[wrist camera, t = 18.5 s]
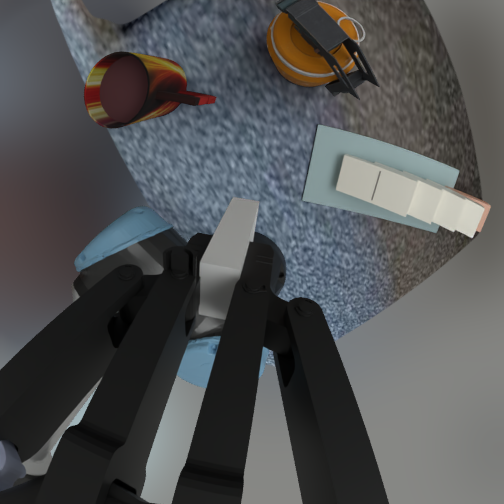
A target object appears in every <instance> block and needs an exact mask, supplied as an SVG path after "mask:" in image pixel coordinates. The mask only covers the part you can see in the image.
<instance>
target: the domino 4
mask: <svg viewBox="0 0 504 504" xmlns="http://www.w3.org/2000/svg"><path fill="white" fill-rule="evenodd" d="M426 180H428V181H430V182H432V183H434V184H437V185H439V186H441V187H443V188H445V189H447V190H450V191H452V192H454V193H456V194H458V195H460V196H462V197H464V198H465V199H466V203H465V206H464V209H463V211H462V214H461V216H460V219H459V221H458V224H457V226H456V228H455V230H457V231H459V232H461V233H463V234H465V235H467V236H469V237H471V238H473V236H474V234H475V231H476V229H477V227H478V224H479V222H480V220H481V217H482V215H483V212H484V210H485V208H484V207H483V206H482V205H481V204H479V203H477V202H475V201H473V200H471V199H469V198H467V197H465V196H463V195H461V194H459V193H457V192H455V191H453V190H451V189H449V188H447V187H445V186H443V185H440V184H438V183H436V182H434V181H432V180H429V179H426Z"/></svg>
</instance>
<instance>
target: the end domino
mask: <svg viewBox="0 0 504 504" xmlns="http://www.w3.org/2000/svg"><path fill="white" fill-rule="evenodd" d="M445 187H447V188H449V189H451V190H453V191H455V192H457V193H459V194H461V195H463V196H465V197H467V198H469V199H471V200H473V201H475V202H477V203H479V204H481V205H482V206H483V207H484V208H485V210H484V212H483V215H482V217H481V220H480V222H479V224H478V227H477V229H476V231H479V232H481V229H482V227H483V225H484V222H485V220H486V217H487V215H488V213H489V210H490V207H491V206H490V205H489V204H488V203H487V202H485V201H483V200H480V199H478V198H476V197H473V196H471V195H469V194H466V193H464V192H461V191H459V190H456V189H454V188H451V187H448V186H446V185H445Z"/></svg>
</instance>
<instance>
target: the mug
mask: <svg viewBox="0 0 504 504" xmlns="http://www.w3.org/2000/svg"><path fill="white" fill-rule="evenodd" d="M186 87H187V81H186V76H185V73H184V71H183V69H182V68H181V67H180V66H179V65H178V64H177V63H176V62H174V61H172V60H169V59H165V58H160V57H155V56H149V55H143V54H137V53H130V52H115V53H112V54H109V55H107V56H105V57H104V58H102V59H101V60H100V61H99V62H98V63H97V64H96V65H95V66H94V67H93V69H92V70H91V72H90V74H89V76H88V78H87V81H86V84H85V89H84V100H85V105H86V108H87V111H88V113H89V115H90V116H91V118H92V119H93V120H94V121H95V122H96V123H98V124H99V125H101V126H103V127H106V128H119V127H123V126H127V125H130V124H133V123H137V122H140V121H144V120H148V119H152V118H156V117H160V116H164V115H166V114H169V113H170V112H172V111H173V110H175V109H176V108H177V107H178V106H179V104H180V103H184V104H189V105H193V106H196V105H202V104H211V103H215V100H216V97H215V96H211V95H206V94H201V93H196V92H190V91H186Z"/></svg>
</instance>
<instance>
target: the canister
mask: <svg viewBox="0 0 504 504" xmlns="http://www.w3.org/2000/svg"><path fill="white" fill-rule="evenodd" d="M276 5H277V7H278V8H279V9H280V10H281V12H280V13H279V14H278V15H277V16H276V17H275V18H274V19H273V20H272V22H271V24H270V26H269V28H268V32H267V47H268V50H269V53H270V56H271V58H272V60H273V62H274V64H275V66H276V68H277V70H278V71H279V73H280V74H281V75H282V76H283V77H284V78H285V79H287V80H288V81H289V82H291V83H293V84H296V85H299V86H303V87H315V86H319V85H322V84H325V83H328V82H330V83H329V84H327V85H326V86H325V87H326V88H327V89H328V90H329V91H330V92H331V93H332V94H333V96H336V95H337V94H339V93H340V92H342V93H348V92H349V93H350V94H352V95H353V96H354V97H356V98H357V99H359V100H360V98H359V96H358V95H357V93H356V91H355V89H354V88H356V87H357V86H359V85H360V84H362V83H364V82H365V80H367V81H369V82H371V83H373V84H374V85H376V86H378V87H380V86H379V84H378V82H377V80H376V77H375V75H374V73H373V71H372V69H371V67H370V65H369V64H368V62H367V60H366V58H365V56H364V54H363V52H362V51H361V49H360V47H359V42H361V41H362V40H364V38H365V31H364V29H363V27H362V26H361V24H360V23H359V22H357V21H356V20H354V19H353V18H350V17H348V16H347V15H346V14H345V13H344V12H343V11H341V10H340V9H338V8H336V7H335V6H333V5H330V4H327V3H324V2H320V1H316V0H279V1H277V2H276ZM352 21H353V22H354V23H356V24H357V25H358V26H359V27H360V29H361V31H362V38H361V39H360V40H359V35H358V32H357V29H356V27H355V25H354V23H353V22H352ZM358 56H359V58H360V60H361V61H362V63H363V65H364V67H365V69H366V71H367V73H366V72H365V70H364V68H363V67H362V65H361V63H360V62H359V60H358ZM355 64H356V66H357V67H358V69H359V70H357V71H354V72H351V73H348V72H349V71H350V70H351V69H352V68H353V66H354V65H355ZM347 73H348V74H347ZM331 81H332V82H331Z"/></svg>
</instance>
